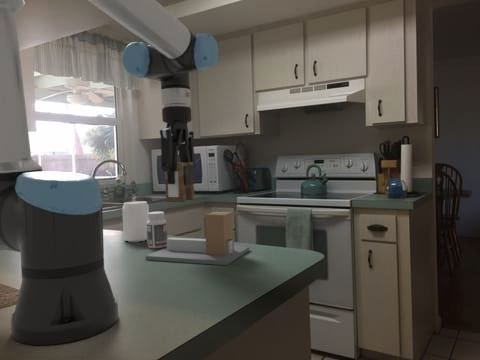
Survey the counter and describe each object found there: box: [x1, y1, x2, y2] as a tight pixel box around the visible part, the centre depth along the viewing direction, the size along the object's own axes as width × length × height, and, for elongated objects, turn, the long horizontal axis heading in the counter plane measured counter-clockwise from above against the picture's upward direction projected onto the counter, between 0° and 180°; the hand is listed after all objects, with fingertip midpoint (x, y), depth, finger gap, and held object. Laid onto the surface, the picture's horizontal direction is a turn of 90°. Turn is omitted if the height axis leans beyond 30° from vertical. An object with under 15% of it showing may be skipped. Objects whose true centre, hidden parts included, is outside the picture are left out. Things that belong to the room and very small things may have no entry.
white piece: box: [121, 200, 150, 243], centre depth 132 cm, size 8×8×12 cm
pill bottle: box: [146, 211, 168, 249], centre depth 121 cm, size 6×6×10 cm
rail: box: [145, 211, 250, 266], centre depth 108 cm, size 16×22×11 cm
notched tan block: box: [164, 162, 195, 203], centre depth 109 cm, size 6×6×10 cm
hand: (180, 195), depth 109 cm, fingers closed on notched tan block, 6 cm apart
